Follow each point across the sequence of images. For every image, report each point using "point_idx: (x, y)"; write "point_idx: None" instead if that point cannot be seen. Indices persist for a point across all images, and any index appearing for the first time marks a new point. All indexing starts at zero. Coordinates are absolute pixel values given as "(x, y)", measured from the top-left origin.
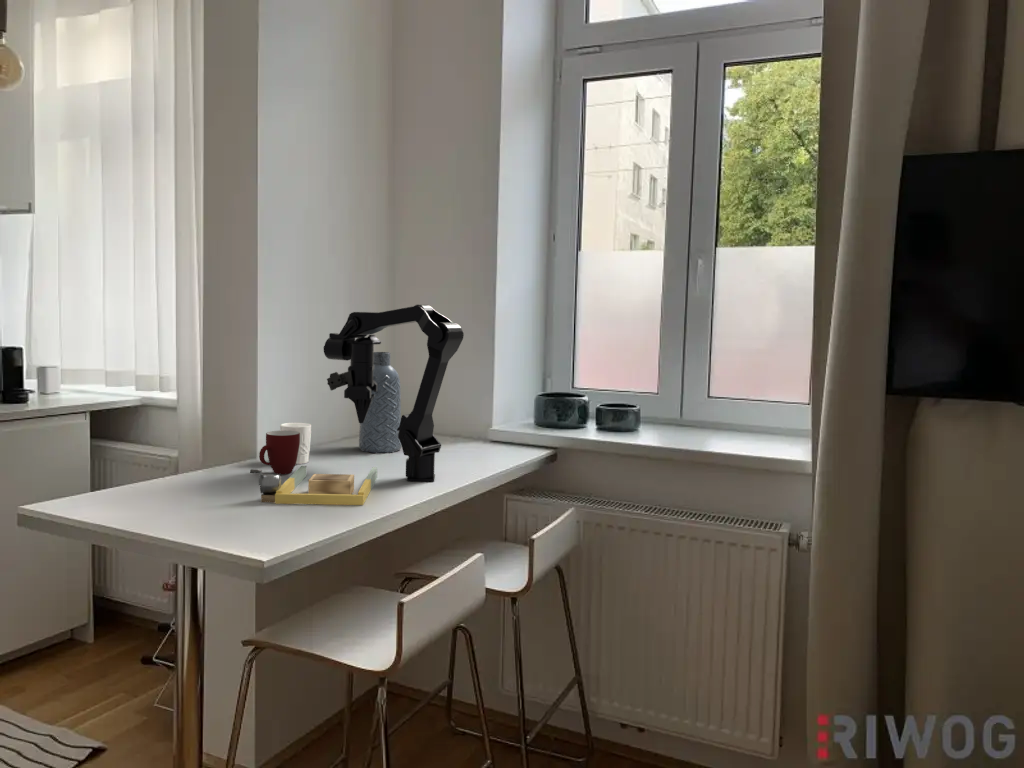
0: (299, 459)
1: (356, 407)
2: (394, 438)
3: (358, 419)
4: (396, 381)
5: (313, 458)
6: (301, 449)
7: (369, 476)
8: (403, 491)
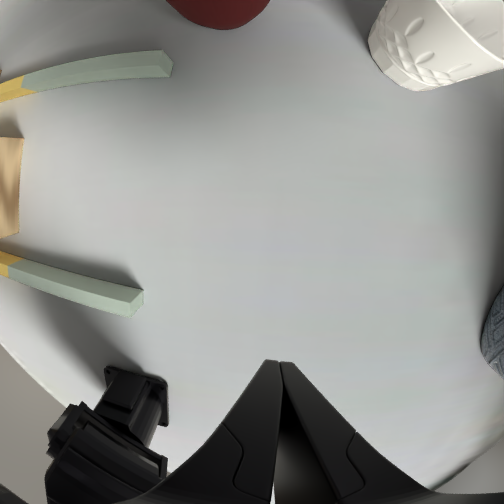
0: (376, 50)
1: (196, 459)
2: (498, 370)
3: (256, 373)
4: None
5: (459, 117)
6: (390, 41)
7: (26, 278)
8: (32, 332)
